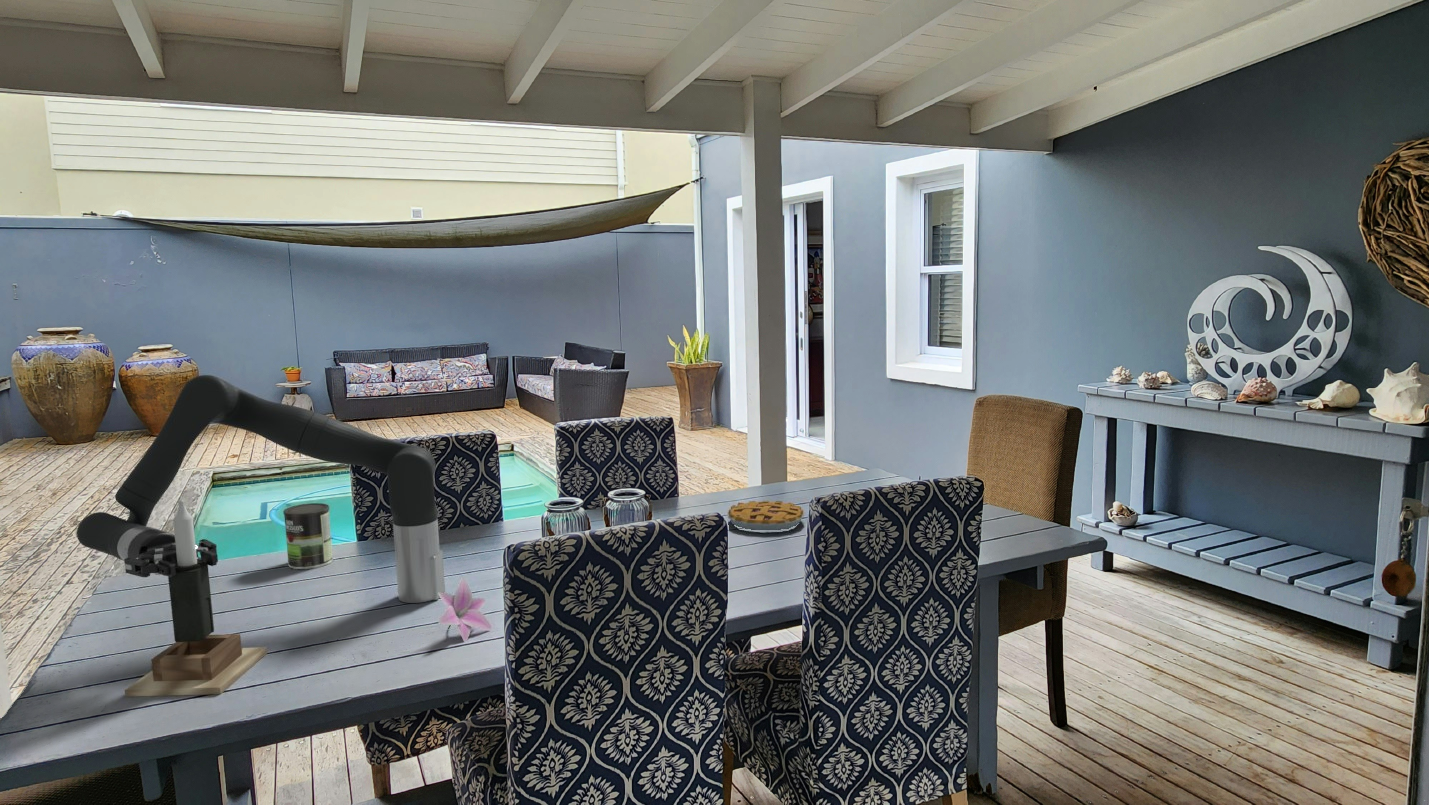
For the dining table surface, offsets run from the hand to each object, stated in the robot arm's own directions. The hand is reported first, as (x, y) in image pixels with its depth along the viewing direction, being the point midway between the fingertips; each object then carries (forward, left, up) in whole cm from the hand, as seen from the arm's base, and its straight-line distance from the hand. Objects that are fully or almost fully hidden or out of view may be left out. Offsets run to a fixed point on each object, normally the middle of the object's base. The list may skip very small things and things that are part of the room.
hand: (194, 565), depth 149 cm
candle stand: (+2, -1, -21) cm, 21 cm away
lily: (-41, -16, -21) cm, 49 cm away
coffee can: (+9, -62, -21) cm, 66 cm away
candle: (+2, -1, -14) cm, 14 cm away
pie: (-107, -87, -21) cm, 140 cm away
